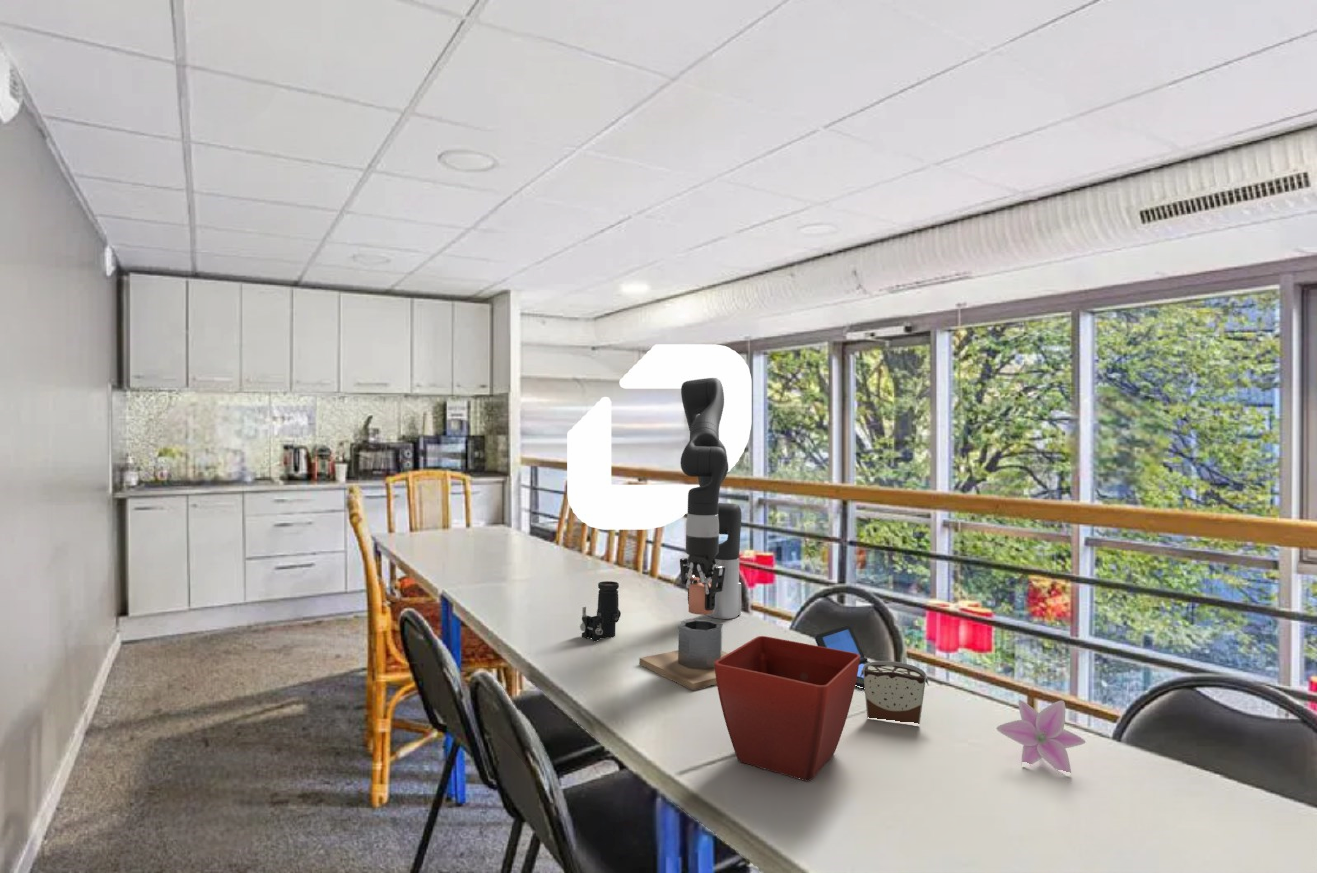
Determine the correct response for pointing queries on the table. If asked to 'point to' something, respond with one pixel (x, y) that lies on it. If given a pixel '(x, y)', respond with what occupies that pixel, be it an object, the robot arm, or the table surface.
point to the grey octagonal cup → (699, 644)
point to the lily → (1042, 735)
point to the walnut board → (679, 670)
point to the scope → (602, 613)
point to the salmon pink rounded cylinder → (697, 599)
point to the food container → (894, 690)
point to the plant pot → (786, 703)
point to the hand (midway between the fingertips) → (700, 607)
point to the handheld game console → (843, 645)
